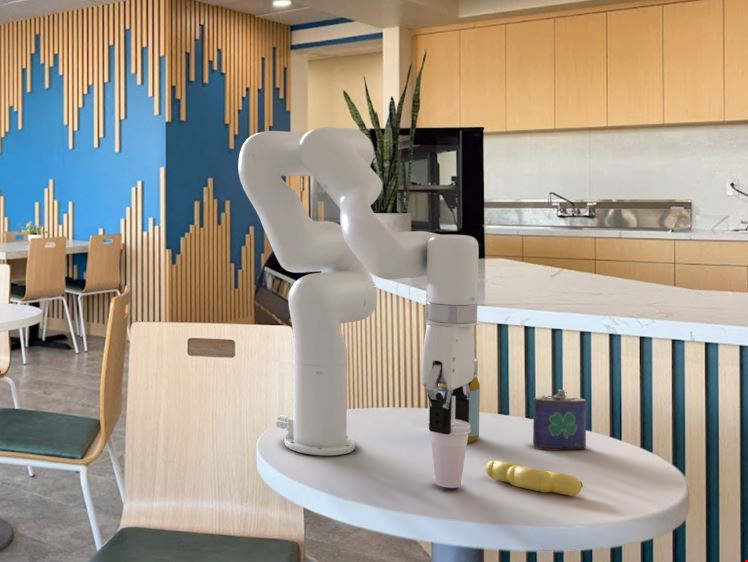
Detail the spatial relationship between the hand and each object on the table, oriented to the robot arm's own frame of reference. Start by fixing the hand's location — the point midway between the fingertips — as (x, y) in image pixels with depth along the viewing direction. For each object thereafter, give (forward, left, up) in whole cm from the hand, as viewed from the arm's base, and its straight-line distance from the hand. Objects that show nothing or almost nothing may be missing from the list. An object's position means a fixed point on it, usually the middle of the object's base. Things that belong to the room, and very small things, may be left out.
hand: (449, 426), depth 136 cm
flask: (+7, +34, -10) cm, 36 cm away
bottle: (-9, +28, -10) cm, 31 cm away
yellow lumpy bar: (+10, +8, -10) cm, 16 cm away
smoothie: (0, 0, -9) cm, 9 cm away
